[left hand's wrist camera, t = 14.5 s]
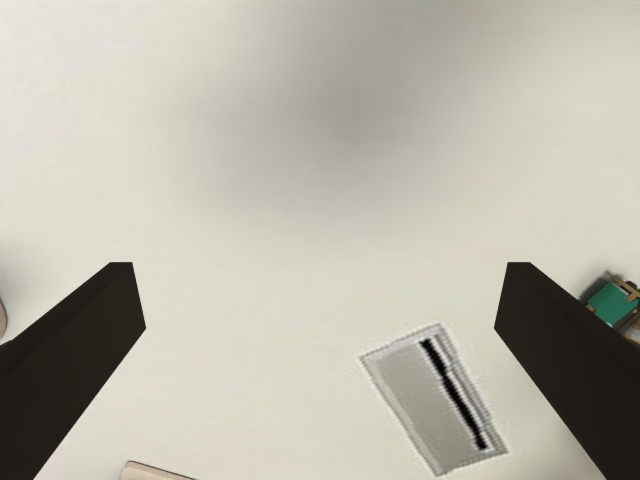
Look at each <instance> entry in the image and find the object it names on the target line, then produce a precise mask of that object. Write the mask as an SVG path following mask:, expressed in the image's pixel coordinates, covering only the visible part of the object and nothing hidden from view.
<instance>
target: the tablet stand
mask: <svg viewBox="0 0 640 480" xmlns="http://www.w3.org/2000/svg"><path fill="white" fill-rule="evenodd" d="M120 480H192V479H188V478H185V477H181V476H178V475H175V474H171V473H168V472H165V471H161V470H158V469H154V468H151V467H148V466H144V465H141V464H138V463H134V462H128V463H127V464H126V466H125V468H124V470H123V472H122V475H121V478H120Z"/></svg>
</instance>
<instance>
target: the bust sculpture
mask: <svg viewBox="0 0 640 480" xmlns="http://www.w3.org/2000/svg"><path fill="white" fill-rule="evenodd" d="M5 328H6V317H5V312H4V309H3V307H2V305H1V303H0V338H1V337H2V336H3V334H4V331H5Z"/></svg>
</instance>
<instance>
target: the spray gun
mask: <svg viewBox="0 0 640 480" xmlns="http://www.w3.org/2000/svg"><path fill="white" fill-rule="evenodd" d="M613 279H614V280H615V281H617V282H618V283H619V284H621V286H620V287H619V286H617V285H616V284H614V283H613V282H611V283H610V282H609V283H608V284H607V285H606V286H604V287H603V288H602V289H601V290H600V291H599V292H597V293H596V294H595V295H594V296H593V297H592V298H590V299H589V300H588V301H587V303H588V304H587V305H586V307H587V308H588V309H589V310H591V311H592V312H593V313H594V314H596V315H597V316H598V317H599V318H601V319H602V320H603V321H604V322H606V323H607V324H608V325H610V326H611V327H612V328H613V329H615V330H616V331H617V332H618V333H620V334H621V335H622V336H623V337H625V338H626V339H631V340H633V341H635V342H637V343H639V344H640V293H639V292H640V289H637V285H635V284H634V283H632V282H631V281H626V282H623V281H622V280H621V279H619V278H618V277H616V276H614V277H613Z"/></svg>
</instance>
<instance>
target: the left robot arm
mask: <svg viewBox="0 0 640 480" xmlns="http://www.w3.org/2000/svg"><path fill="white" fill-rule="evenodd" d="M145 329H146V325H145V320H144V316H143V311H142V306H141V302H140V297H139V292H138V287H137V283H136V278H135V273H134V269H133V264H132V262H110V263H109V264H107V265H106V266H105V267H104V268H102V269H101V270H100V271H99V272H97V273H96V274H95V275H93V276H92V277H91V278H90V279H88V280H87V281H86V282H85V283H83V284H82V285H81V286H80V287H78V288H77V289H76V290H75V291H73V292H72V293H71V294H70V295H68V296H67V297H66V298H64V299H63V300H62V301H61V302H59V303H58V304H57V305H56V306H54V307H53V308H52V309H51V310H49V311H48V312H47V313H46V314H44V315H43V316H42V317H41V318H39V319H38V320H37V321H36V322H34V323H33V324H32V325H30V326H29V327H28V328H27V329H25V330H24V331H23V332H22V333H20V334H19V335H18V336H17V337H15V338H14V339H13V340H10V341H8V342H6V343H4V344H2V345H0V480H33V479H34V478H35V477H36V475H37V474H38V473H39V471H40V470H41V469H42V467H43V466H44V464H45V463H46V462H47V460H48V459H49V458H50V456H51V455H52V454H53V452H54V451H55V450H56V448H57V447H58V446H59V444H60V443H61V442H62V440H63V439H64V438H65V436H66V435H67V434H68V432H69V431H70V430H71V428H72V427H73V426H74V424H75V423H76V422H77V420H78V419H79V418H80V416H81V415H82V414H83V412H84V411H85V410H86V408H87V407H88V406H89V404H90V403H91V402H92V400H93V399H94V398H95V396H96V395H97V394H98V392H99V391H100V390H101V388H102V387H103V386H104V384H105V383H106V382H107V380H108V379H109V377H110V376H111V375H112V373H113V372H114V371H115V369H116V368H117V367H118V365H119V364H120V363H121V361H122V360H123V359H124V357H125V356H126V355H127V353H128V352H129V351H130V349H131V348H132V347H133V345H134V344H135V343H136V341H137V340H138V339H139V337H140V336H141V335H142V333H143V332H144V331H145ZM494 329H495V331H496V332H497V333H498V335H499V336H500V337H501V339H502V340H503V341H504V343H505V344H506V345H507V347H508V348H509V349H510V351H511V352H512V353H513V355H514V356H515V357H516V359H517V360H518V361H519V363H520V364H521V365H522V367H523V368H524V369H525V371H526V372H527V373H528V375H529V376H530V377H531V379H532V380H533V382H534V383H535V384H536V386H537V387H538V388H539V390H540V391H541V392H542V394H543V395H544V396H545V398H546V399H547V400H548V402H549V403H550V404H551V406H552V407H553V408H554V410H555V411H556V412H557V414H558V415H559V416H560V418H561V419H562V420H563V422H564V423H565V424H566V426H567V427H568V428H569V430H570V431H571V432H572V434H573V435H574V436H575V438H576V439H577V440H578V442H579V443H580V444H581V446H582V447H583V448H584V450H585V451H586V452H587V454H588V455H589V456H590V458H591V459H592V460H593V462H594V463H595V464H596V466H597V467H598V469H599V470H600V471H601V473H602V474H603V475H604V477H605V478H606V479H607V480H640V344H639V343H637V342H635V341H633V340H631V339H626V338H625V337H623V336H622V335H621V334H620V333H618V332H617V331H616V330H615V329H613V328H612V327H611V326H610V325H608V324H607V323H606V322H604V321H603V320H602V319H601V318H599V317H598V316H597V315H596V314H594V313H593V312H592V311H591V310H589V309H588V308H587V307H586V306H584V305H583V304H582V303H581V302H579V301H578V300H577V299H576V298H574V297H573V296H572V295H570V294H569V293H568V292H567V291H565V290H564V289H563V288H562V287H560V286H559V285H558V284H557V283H555V282H554V281H553V280H552V279H550V278H549V277H548V276H547V275H545V274H544V273H543V272H541V271H540V270H539V269H538V268H536V267H535V266H534V265H533V264H531V263H530V262H508V264H507V269H506V273H505V278H504V283H503V287H502V292H501V297H500V302H499V306H498V311H497V316H496V320H495V325H494Z"/></svg>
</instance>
